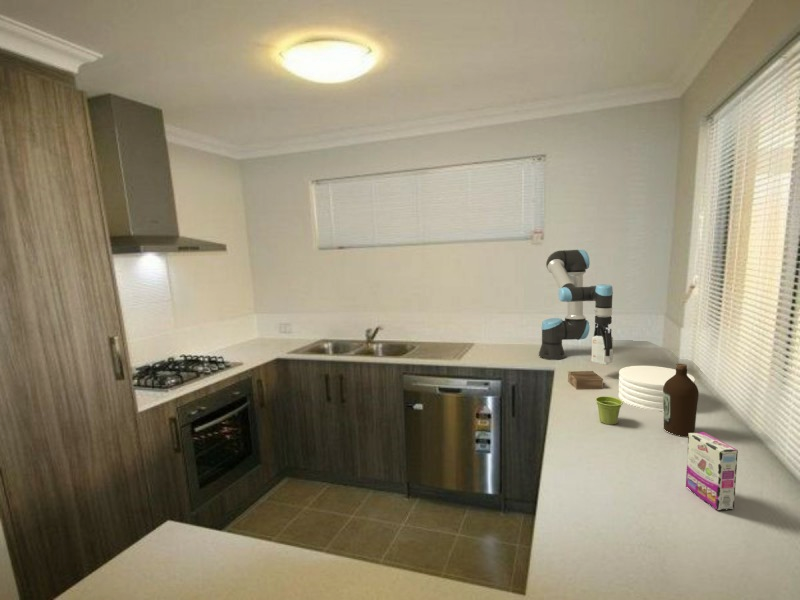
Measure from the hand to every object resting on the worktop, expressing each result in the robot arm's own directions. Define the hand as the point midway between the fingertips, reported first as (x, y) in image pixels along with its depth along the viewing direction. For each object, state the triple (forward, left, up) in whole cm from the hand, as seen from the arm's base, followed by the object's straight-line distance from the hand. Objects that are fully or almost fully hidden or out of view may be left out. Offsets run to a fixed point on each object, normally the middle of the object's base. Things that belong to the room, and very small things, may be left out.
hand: (602, 358), depth 212 cm
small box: (0, 0, -2) cm, 2 cm away
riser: (+10, -12, -10) cm, 18 cm away
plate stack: (+31, +10, -11) cm, 34 cm away
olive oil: (+62, +2, -10) cm, 63 cm away
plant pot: (+53, -19, -10) cm, 57 cm away
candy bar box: (+102, -14, -10) cm, 104 cm away
